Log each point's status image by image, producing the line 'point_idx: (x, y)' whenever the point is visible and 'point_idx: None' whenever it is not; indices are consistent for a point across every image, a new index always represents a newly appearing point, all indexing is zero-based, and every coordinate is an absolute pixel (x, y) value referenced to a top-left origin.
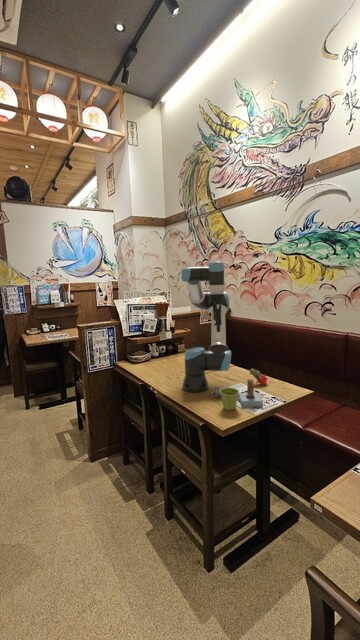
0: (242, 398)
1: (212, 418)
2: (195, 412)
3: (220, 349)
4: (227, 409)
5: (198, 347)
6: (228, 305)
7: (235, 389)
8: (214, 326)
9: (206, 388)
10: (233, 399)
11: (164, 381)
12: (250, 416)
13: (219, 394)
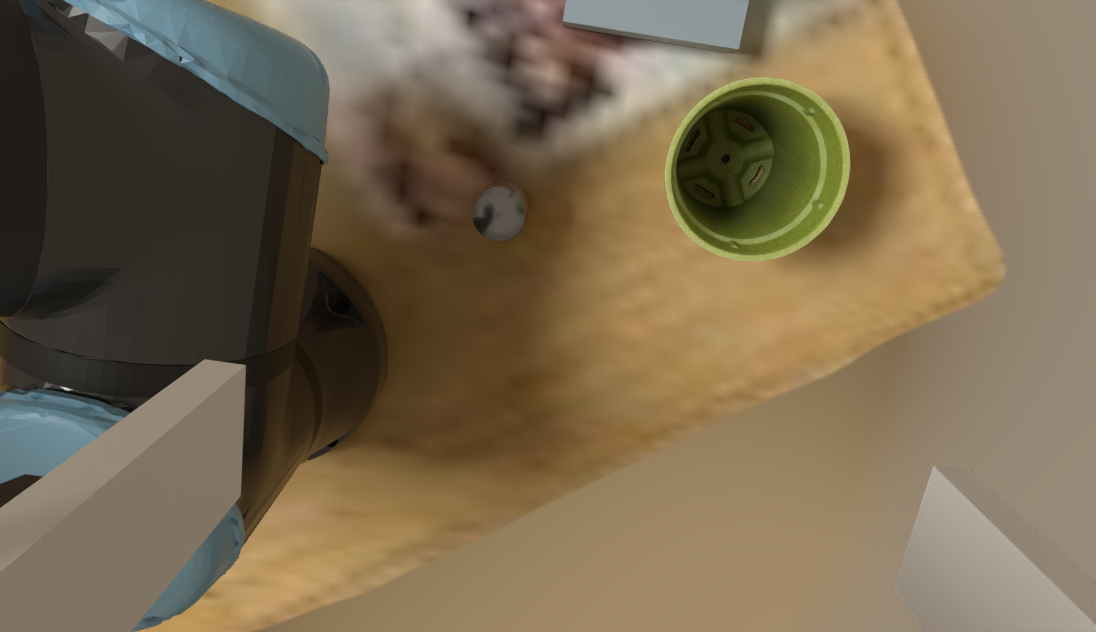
0: (687, 25)
1: (850, 320)
2: (734, 414)
3: (114, 165)
4: (764, 187)
5: None
6: None
7: (718, 97)
8: (146, 596)
9: (340, 270)
10: (815, 149)
11: None
12: (901, 36)
13: (523, 197)
